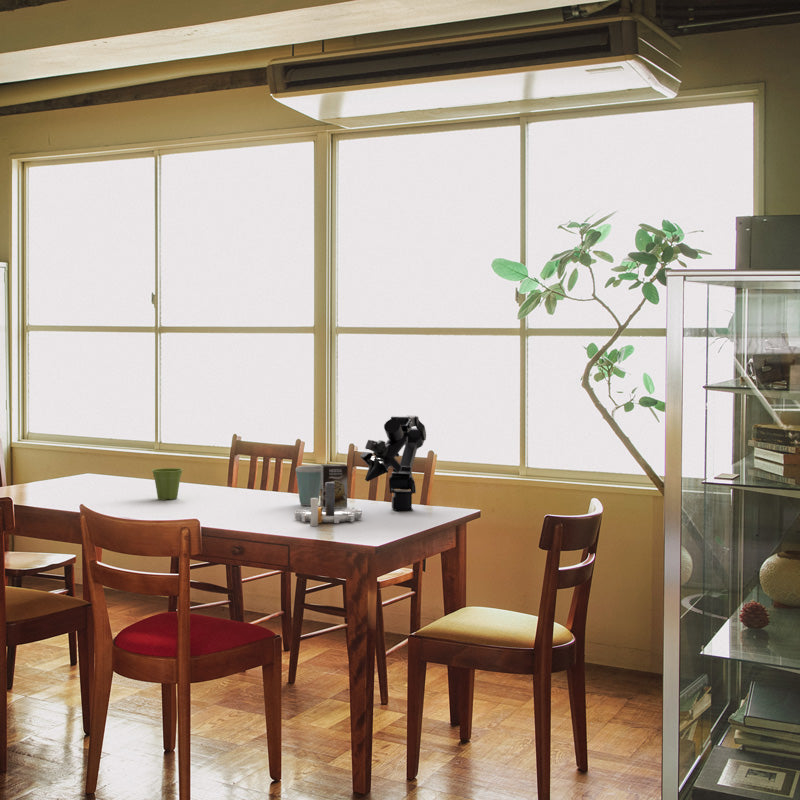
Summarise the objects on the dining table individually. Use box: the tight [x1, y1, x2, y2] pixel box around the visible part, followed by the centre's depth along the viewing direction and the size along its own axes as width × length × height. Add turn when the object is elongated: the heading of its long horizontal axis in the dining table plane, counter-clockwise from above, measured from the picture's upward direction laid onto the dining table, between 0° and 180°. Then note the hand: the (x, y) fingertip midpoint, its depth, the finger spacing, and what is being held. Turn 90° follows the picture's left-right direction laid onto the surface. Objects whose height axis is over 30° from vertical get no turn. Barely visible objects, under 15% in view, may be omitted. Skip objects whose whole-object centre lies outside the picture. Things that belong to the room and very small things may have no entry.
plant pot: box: [151, 467, 184, 501], centre depth 374 cm, size 12×12×11 cm
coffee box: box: [319, 463, 349, 508], centre depth 353 cm, size 9×6×16 cm
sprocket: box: [294, 482, 363, 524], centre depth 333 cm, size 23×23×13 cm
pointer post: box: [310, 498, 319, 527], centre depth 320 cm, size 2×2×9 cm
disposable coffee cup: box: [295, 464, 322, 506], centre depth 362 cm, size 11×11×15 cm
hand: (366, 480), depth 337 cm, fingers closed
